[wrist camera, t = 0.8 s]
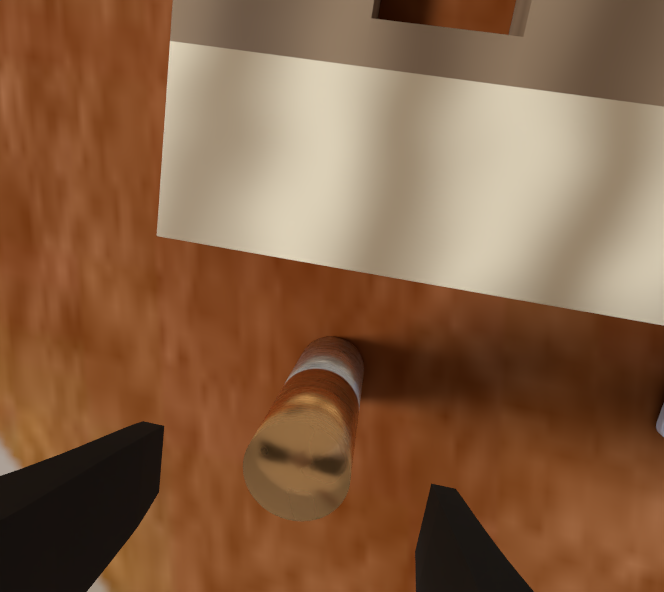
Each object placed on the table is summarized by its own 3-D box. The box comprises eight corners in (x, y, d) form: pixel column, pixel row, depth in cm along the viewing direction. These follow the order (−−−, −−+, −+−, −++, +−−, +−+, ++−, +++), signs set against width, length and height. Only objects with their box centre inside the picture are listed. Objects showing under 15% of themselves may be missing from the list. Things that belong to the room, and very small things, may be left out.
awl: (369, 343, 19) (358, 435, 11) (357, 403, 19) (340, 531, 12) (304, 330, 19) (249, 412, 11) (295, 390, 20) (237, 507, 12)
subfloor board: (797, -230, 13) (889, -329, 11) (624, 309, 17) (664, 325, 15) (227, -267, 15) (197, -360, 13) (186, 232, 19) (157, 235, 16)
